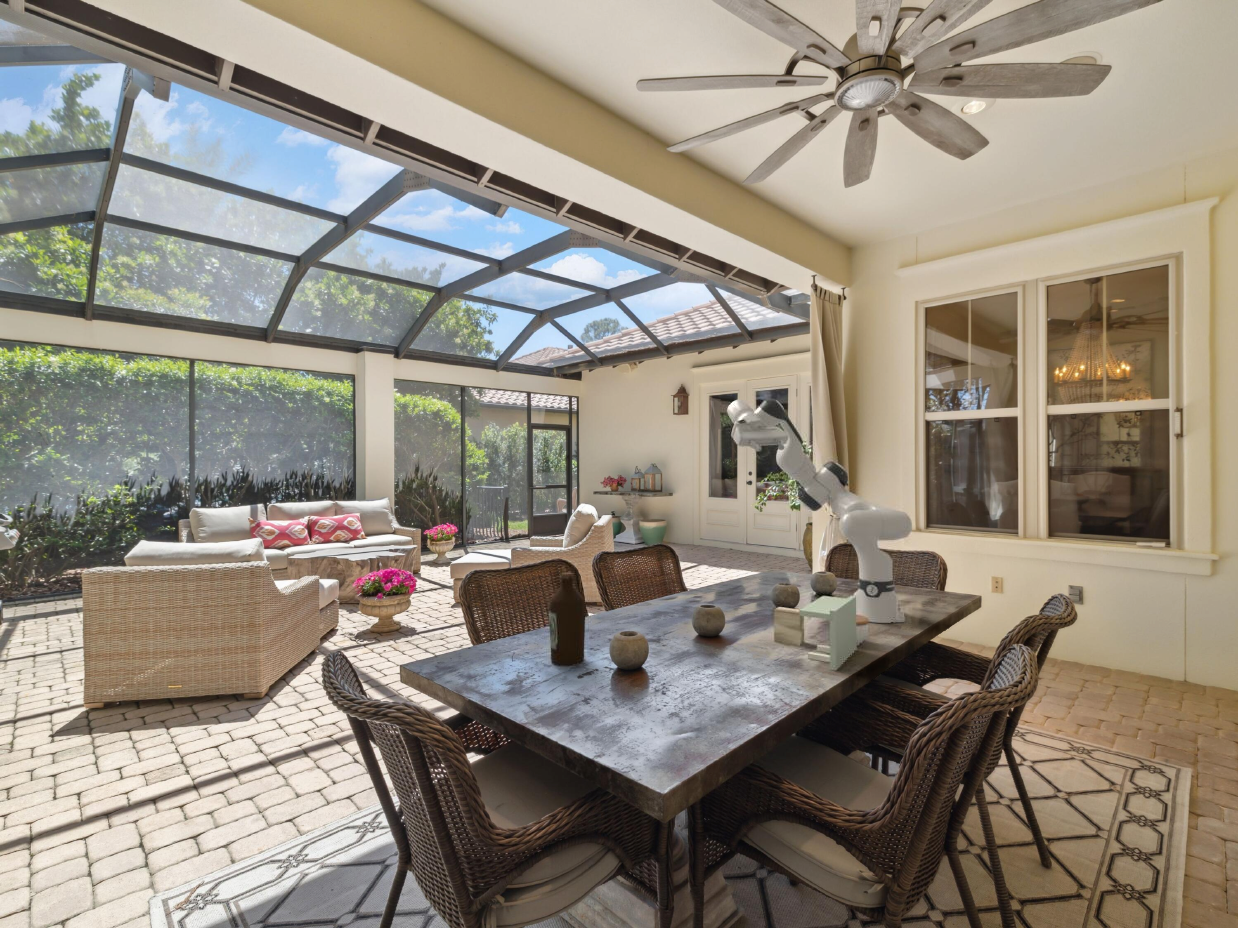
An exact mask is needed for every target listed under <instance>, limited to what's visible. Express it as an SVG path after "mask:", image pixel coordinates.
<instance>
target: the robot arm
mask: <svg viewBox="0 0 1238 928" xmlns="http://www.w3.org/2000/svg"><path fill="white" fill-rule="evenodd" d="M726 412H727V415H728V416H729V419H730V420H731V422H732V423H733V427H732V428H731V429H732V431H731V434H730V436H731V438H732V439H733V440H734V442H735V444H736V445H737V446H739V447H749V448H751V449H754V451H756V452H761V451H762V449H763V448H762V446H777V451H776V455H775V457H776V458H775V461H776V464H777V465H778V466H779V468H780V469H781V470H782V471H783V472H784V473H786V475H788V477H790V478H792V479H793V480H795V481H797V482H798V483H799V484H800V487H799V486H797V487H796V488H797V498H798V500H799V502H800V503H801V505H802V506H803V507H804V508H805V509H807V510H809V511H812V512H817V511H818V510H820V509H822V508H823V506H824V505H825V504H826V503H827V502H829V507H830V508H831V510H832V511H833V513H834V514H835V515H836V516H837V517H838V518H839V522H838V528H839V532H840V534H841V535H842V537H844V539H846V540H847V541H849V543H850V544H851V545H852V547H853V548H854V550H855V552H856V555H857V559H858V560H857V561H858V575H859V576H858V578H857V587H858V589H857V590H856V591H855V592H854V593H853V596H856V615H861V616H864V617H866V618H868V619H869V623H877V624H879V623H880V624H889V623H890V624H892V623H891V622H893V623H906V619H905V611H904V610H902V609H901V607H900V606H899V604H898V600H899V598H898V596H897V594H896V592H895V585H896V584H895V581H894V577H893V573H894V572H893V559H892V556H890V555H889V553H887V552H885V551H883V550H881V549H880V548H879V545H878V541H881V542H882V541H883V542H884V541H897V540H902V539H905V538H908V537H909V535H911V531H912V529H913V523H912V520H911V517H910V516H909V515H908V513H907V512H904V511H899V510H896V509H891V508H889V507H885V506H882V505H879V504H875V503H872V502H869V501H867V500H866V499H863V498H862V497H860V496H859V495H857V494H855V493H854V492H850V491H849V490H847V489H846V486H847V487H849V483H848V482H849V476H848V473H847V471H846V469H845V468H844V466H843V465H841V464H840V463H837V462H835V461H828V462H826V463H825V464H823V466H822V467H821V468H820V469H818V471H817V468H816V466H815V464H814V462H813V461H812V460H811V458H810V457H809V456H808V455H807V454H806V453H805V452H804V451H803V444H804V440H803V438H802V436H801V435H800V433H799V432H798V430H797V428H796V427H795V425H794V424H793V422H792V421H791V419H790V418H789V415H788V414H787V413H786V411H785V409H784V406H783V405H782V404H781V402H779V400H776V399H775V398H768V399H766V398H765V399H764V400H763V401H762V402H761V403H760V405H759V406H758V407H757V408H756V409H755V410H754V409H753V408H752V407H751V406H750V405H749V404H748V403H747V402H745V401H744V400H742V399H736V400H734V401H732V402H731V403H730V404H729V405H728V406H727V409H726ZM779 424H780V426H781V428H780V427H778V426H777V425H779Z"/></svg>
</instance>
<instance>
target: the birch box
mask: <svg viewBox="0 0 1238 928" xmlns="http://www.w3.org/2000/svg"><path fill="white" fill-rule="evenodd" d="M799 610H800V609H797V608H789V607H782V606H778V607H777V608H775V609H773V619H774V620H773V630H774V631H773V634H774V635H773V637H774V638H773V639H774V640H773V641H774V642H775V643H782V644H786V645H792V646H798V647H800V646H801V645H802V643H803V644H804V643H805V616H799Z"/></svg>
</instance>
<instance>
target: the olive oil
mask: <svg viewBox="0 0 1238 928" xmlns="http://www.w3.org/2000/svg"><path fill="white" fill-rule="evenodd" d="M573 574H574V573H573V572H571V571H568V572H562V573H561V574H560V575H561V577H560V587H559V588H558V589H557V591H556V592H555V593H554V594H553V595H552V596H551V598H550V601H549V604H548V621H549V623H548V625H549V641H550V661H551V663H552V664H554V665H556V664H557V665H556V666H562V665H563V666H564V667H566V666H568V667H569V666H575V665H579V664H582V663H583V662H584V661H585V637H586V635H585V633H586V613H587V612H586V611H587V608H586V607H587V604H586V602H585V599H584V596H582V594H581V593H580V592H579V591H578V590H577V589H576V588H575V586H574V580H573V579H574V578H573ZM581 662H582V663H581Z"/></svg>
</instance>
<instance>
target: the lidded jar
mask: <svg viewBox="0 0 1238 928" xmlns="http://www.w3.org/2000/svg"><path fill="white" fill-rule="evenodd" d="M869 623H870V622H869V619H868V618H866V617H864V616H861V615H856V635H857V646H859V645H858V644H860V643H861V644H862V643H863V642H864V641H865V640H866V638H867V636H868V633H869ZM861 644H860V645H861Z"/></svg>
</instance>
